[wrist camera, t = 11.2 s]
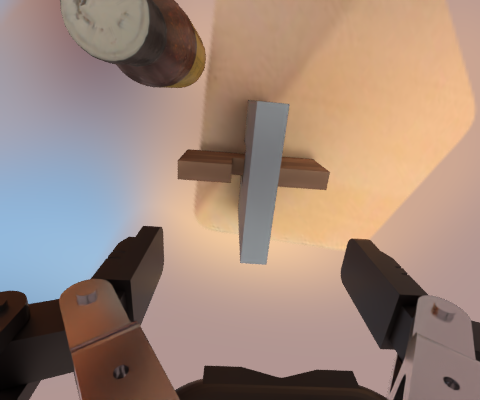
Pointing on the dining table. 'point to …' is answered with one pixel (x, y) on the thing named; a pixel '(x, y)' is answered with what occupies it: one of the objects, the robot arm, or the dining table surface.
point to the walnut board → (225, 164)
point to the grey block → (260, 177)
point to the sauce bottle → (139, 38)
